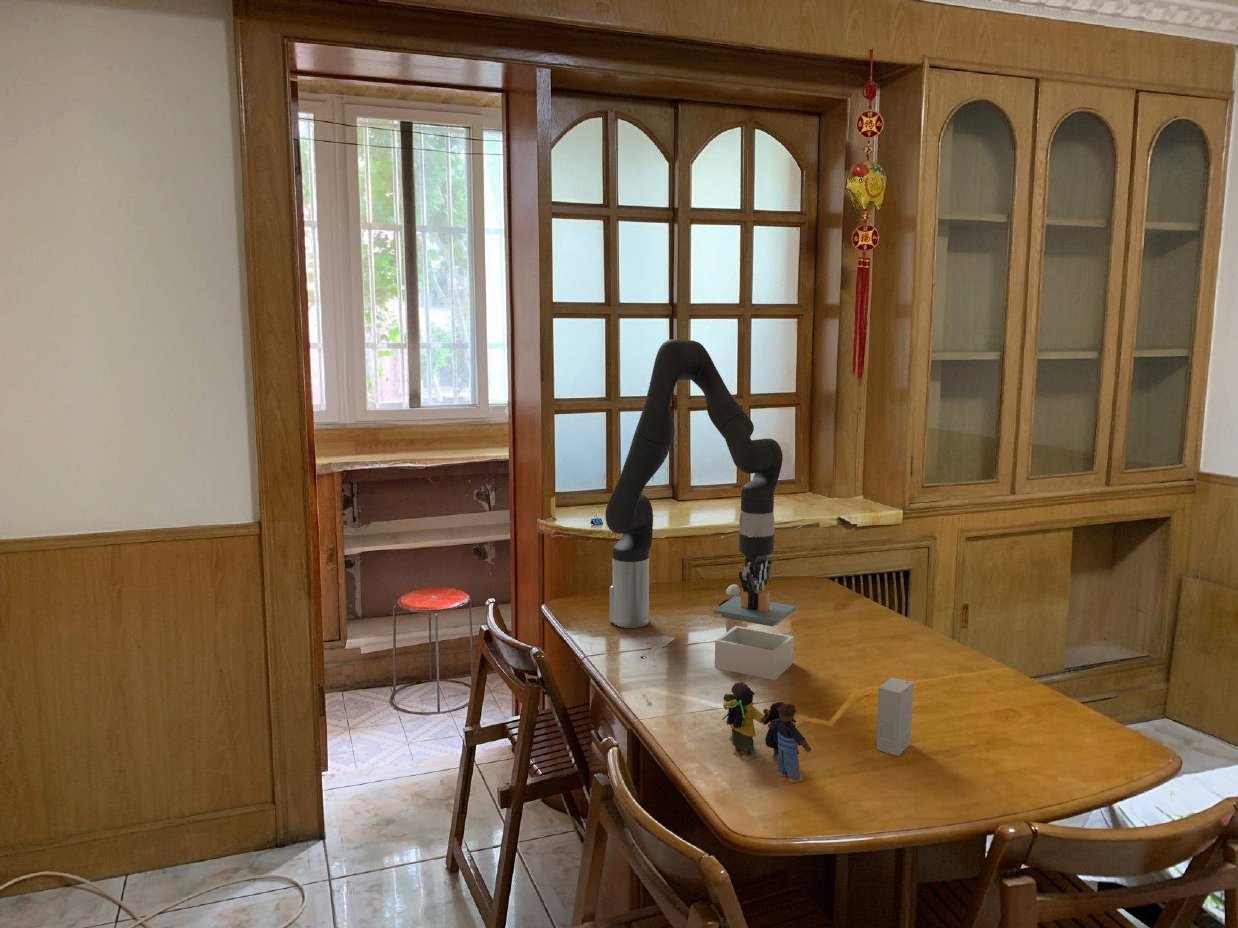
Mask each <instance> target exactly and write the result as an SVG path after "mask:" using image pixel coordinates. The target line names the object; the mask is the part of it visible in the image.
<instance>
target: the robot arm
mask: <svg viewBox="0 0 1238 928" xmlns="http://www.w3.org/2000/svg"><path fill="white" fill-rule="evenodd" d="M653 364H654V365H653V368H652V373H651V377H650V382H649V386H648V390H647V394H646V397H645V401H644V403H643V408H642V411H641V414H640V417H639V419H638V422H637V425H636V428H635V430H634V434H633V437H632V440H631V443H630V447H629V450H628V453H627V455H626V459H625V461H624V465H623V467H622V470H621V473H620V476H619V478H618V481H617V483H616V485H615V487H614V489H613V491H612V493H611V496H610V498H609V500H608V502H607V506H606V507H605V508H606V509H605V523H606V525H607V527H608V528H609V530H610V531H611V532H612V533H614V534H618V535H620V534H622V535H621V537H620V539H619V540H618V541H617V542H616V543H615V544H614V546H613V547H612V550H611V551H612V553H611V554H612V555H611V556H612V562H611V563H612V585H610V586H609V589H608V591H609V593H608V594H609V623H610V622H613V623H614V625H615V626H616V625H617V626H616V627H619V626H620V627H619V628H623V627H624V628H626V629H636V628H642V627H645V626H648V625H649V622H650V550H651V547H652V544H653V532H654V529H653V527H654V510H653V507H652V506H653V505H652V503H651V501H650V499H649V498H648V497H647V496H646V495H645V494H642V493H643V490H644V489H645V488H646V485H647V484H648V483H649V481H650V480H651V479H652V478H653V476H654V475H655V474H656V473H657V471H658V470H659V469H661V467H662V465H663V463H664V462H665V461H666V459H667V457H668V455H669V452H670V449H671V447H672V444H673V440H674V438H675V431H676V428H675V421H674V417H673V412H672V407H671V405H672V403H671V402H672V398H673V394H674V390H675V388H676V385H677V382H678V381H692V382H693V384H695V385H696V386H697V387H698V388H699V389H700V390H701V391H702V392H703V394H704V398H705V404H706V411H707V415H708V416H709V419H710V421H711V423H712V424H713V426H715V428H716V429H717V431H718V432H719V434H720V435H721V436H722V437H723V438H724V440H725V443H726V446H727V449H728V451H729V453H730V457H731V459H732V461H733V463H734V466H736V467H737V468H738V469H739V471H741V472H743V473H744V474H749V475H750V474H753V478H752V479H751V480H750V481H748V482H747V483H745V484H744V485H742V487H741V491H740V492H741V493H740V514H739V520H738V521H739V523H738V524H739V526H738V551H739V553H741V554H743V555H744V558H745V559H744V563H743V570H740V571H739V573H738V576H739V581H740V584H741V589H743V592H748V609H751V610H757V609H758V593H759V590H762V591H765V586H767V585H768V581H769V576H770V572H771V568H772V565H773V560H772V559H769V558H768V556H770V555H771V554H773V553H774V551H775V514H774V513H775V512H774V508H775V506H774V505H775V502H774V501H775V491H776V487H777V484H778V480H779V479H780V478H779V477H780V473H781V470H782V466H783V459H784V458H783V451H782V448H781V445H780V444H779V443H778V441H776V440H775V439H773V438H760V439H751V436H752V434H753V433H754V429H755V426H754V423H753V420H751V418H750V417H749V416H748V414H747V413H746V411H744V409H743V408H742V407H741V405H739V403H738V402H737V401H736V399H735V398H734V396H733V395H732V394H731V392H730V390H729V389H728V387H727V385H726V383H725V382H724V379H723V378H722V377H721V374H720V372H719V370H718V369H717V367H716V365H715V364H714V361H713V359H712V357H711V356H710V353H708V351H707V349H706V348H705V347H704V345H703V344H702V343H701V342H699V341H696V340H691V339H675V338H673V339H671V338H670V339H667V340H665V341H664V342H662V344H661V345H660V346H659V348H658V350H657V353H656V357H655V360H654V363H653ZM613 623H612V624H613Z"/></svg>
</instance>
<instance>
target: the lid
mask: <svg viewBox="0 0 1238 928" xmlns="http://www.w3.org/2000/svg"><path fill="white" fill-rule="evenodd" d="M740 593H741V594H740V596H734V597H733V598H729V599H730V600H728V601H727V602H725V603H724V604H722V605H721V606H719V605H718V606H717V608H715V609H713V614H715V615H720V616H721V618H725V619H726V618H729V619H734V620H740V621H741V622H744V623H746V622H747V623H751V624H756V625H757V624H758V625H763V626H768V627H774V626H777V625H778V624H780V623H781V622H782V621H783V620H784V619H786V618H787V617H788V616H789V615H791V614H792V613H794V611H796V606H795V605H790V604H785V603H778V602H771V601H770V596H771V594H770V591H767V590H759V593H758V609H757V610H751V609H748V592H743V588H740Z"/></svg>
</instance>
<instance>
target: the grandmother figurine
mask: <svg viewBox="0 0 1238 928" xmlns="http://www.w3.org/2000/svg"><path fill="white" fill-rule="evenodd" d="M740 593H741V588H740V586H739V585H738V584H735V583H734V584H731V585H729V586H728V587H727V588H726V593H725V594H727V596H728V597H729V598H727V599H724V600H723V601H721V602H720V604H718V607H719V606H721V605H722V604H724V603H725V602H727V601H728V600H730V599H731V598H733V597H734V596H738V597H740ZM742 622H743V621H740V620H734V619H729V618H725V631H726V632H728V631H729V630H730V629H732V628H733V627H735V626H740V627H743V625H742Z"/></svg>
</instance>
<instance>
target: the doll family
mask: <svg viewBox="0 0 1238 928" xmlns="http://www.w3.org/2000/svg"><path fill="white" fill-rule="evenodd" d="M754 696H755V692H754V691H753V690H752V689H751V688H750V686H749V685H747V684H746V683H745V682H736V683H734V684H733V686H732V687H731V693H726V694H724V695H723V700H724V702H723V704H722V707H723V709H724V710H725V711H726V710H728V712H727V714H726V715H725V716H724V717H722V719H721V720H722V721H723V720H725V719H726V725H727V726H728V725H730V728H731V735H730V736H729V737H728V740H729V741H731V742H732V745H733V747H735V748H734V750H733V751H732V754H733V755H734V756H741V755H742V759H743V760H745V761H748V760H752V759H754V758H757V755H756V753H755V748H754V743H755V741H754V738H756V737H757V734H756V730H755V724H754V720H755V721H756V722H758V723H759V724H762V726H765V725H767V728H768V731H767V733H766V735H765V740H764V741H765V742H764V743H765V745H766V747H768V748H771V749H773V753H772V756H771V758H772V759H773V760H777V765H778V773H777V775H778V776H780V778H781V777H783V778H784V777H787V781H788V782H789V783H793V784H794V783H799V782H802V781H803V780H804V778H803V777H804V776H803V775H801V773H800V760H799V754H800V751H799V746H802V748H803V749H804V750H805V752H806V753H811V751H812V747H811V746H809V743H808V741H807V740H806V737H804V735H803V734H802V733H801V732H800V730H798V729H797V725H796V723H797V720H796V719H800V718H801V716H799V715H798V716H795V714H796V712H797V708H796V707H795V705H794V704H793V703H785V702H783V701H777V702H773V703H772V704H771V705H770V707H769V709H768V708H764V709H763V710H762V712H763V713H762V712H761V711H759V709H757V708H756V707H755V706H754V703H755V702H754ZM795 718H796V719H795Z"/></svg>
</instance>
